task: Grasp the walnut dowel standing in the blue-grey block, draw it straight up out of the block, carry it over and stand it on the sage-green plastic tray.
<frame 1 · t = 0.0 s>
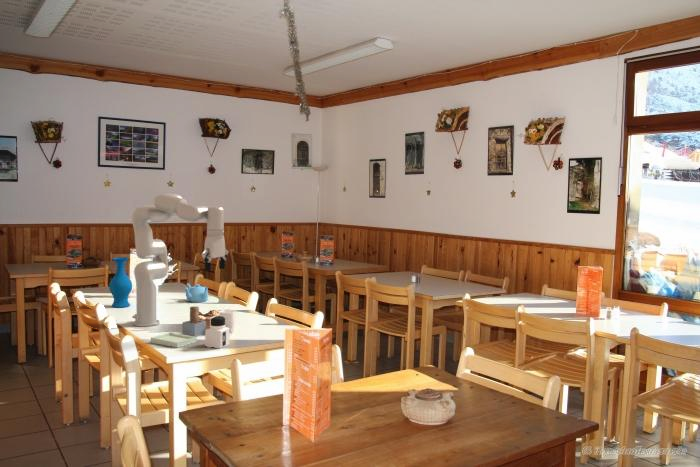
hand: (215, 269, 281), 31 cm above the table, fingers open, 9 cm apart
vase: (120, 306, 349), on the table
blue-grey block: (194, 334, 286), on the table
white cup: (227, 332, 293), on the table
sage tray: (173, 342, 270), on the table
teapot: (196, 301, 370), on the table
walnut dowel: (194, 320, 285), in the blue-grey block
container: (217, 346, 266), on the table
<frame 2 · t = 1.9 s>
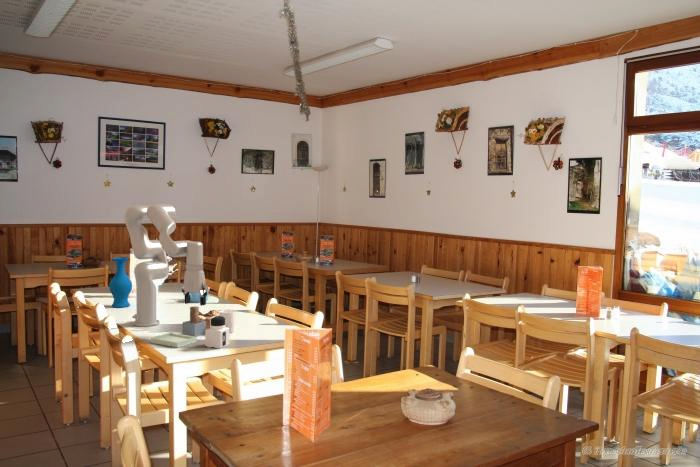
hand: (195, 304, 284), 14 cm above the table, fingers open, 9 cm apart
nothing on the table moved.
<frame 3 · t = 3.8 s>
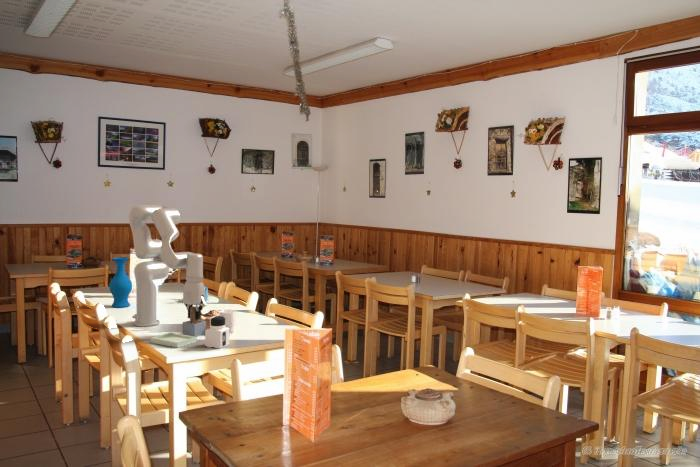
hand: (194, 318, 285), 8 cm above the table, fingers closed on walnut dowel, 4 cm apart
walnut dowel: (194, 320, 285), in the blue-grey block, touching gripper
everything else where it was.
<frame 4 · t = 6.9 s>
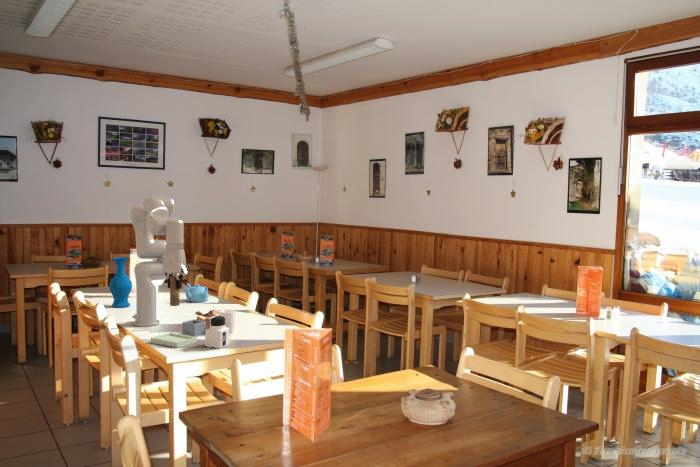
hand: (174, 287, 269), 25 cm above the table, fingers closed on walnut dowel, 4 cm apart
walnut dowel: (174, 290, 269), point 23 cm above the table, touching gripper
everything else where it was.
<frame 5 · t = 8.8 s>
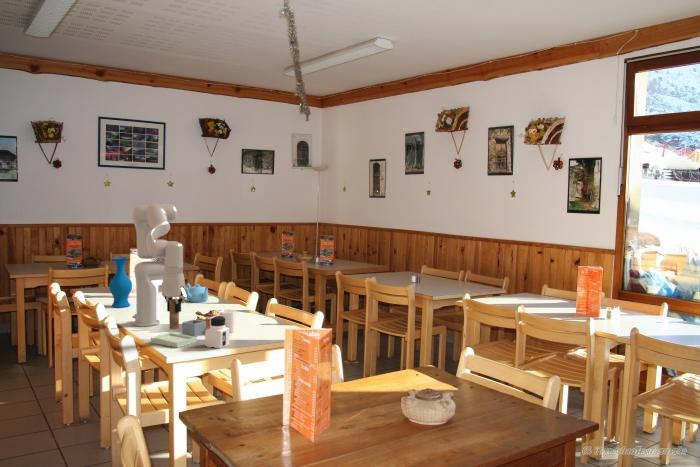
hand: (174, 311, 269), 14 cm above the table, fingers closed on walnut dowel, 4 cm apart
walnut dowel: (174, 314, 269), point 13 cm above the table, touching gripper
everything else where it was.
when the fingers open (10 cm above the table, at t = 10.4 s): walnut dowel stays where it is, resting on sage tray.
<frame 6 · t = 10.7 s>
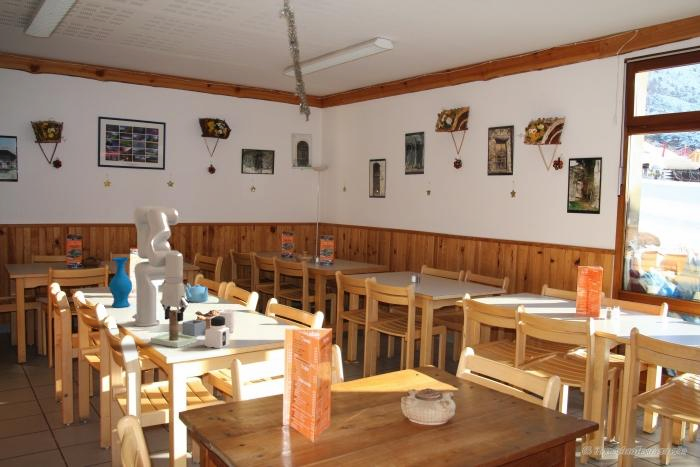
hand: (173, 319, 270), 10 cm above the table, fingers open, 6 cm apart
walnut dowel: (173, 325, 270), in the sage tray, point 8 cm above the table
everything else where it was.
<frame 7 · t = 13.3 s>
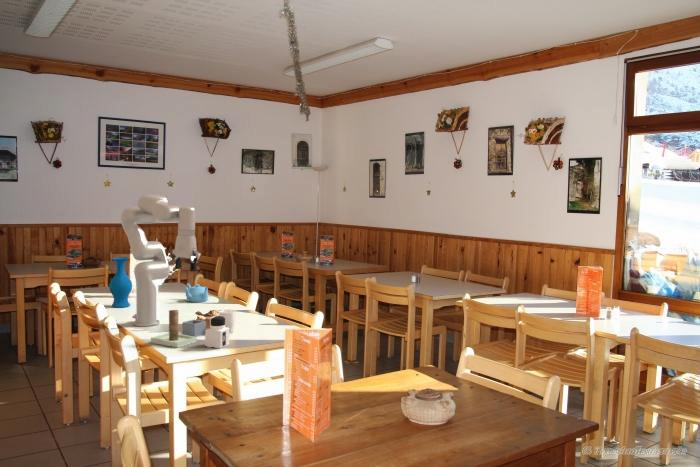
hand: (185, 269, 282), 31 cm above the table, fingers open, 9 cm apart
nothing on the table moved.
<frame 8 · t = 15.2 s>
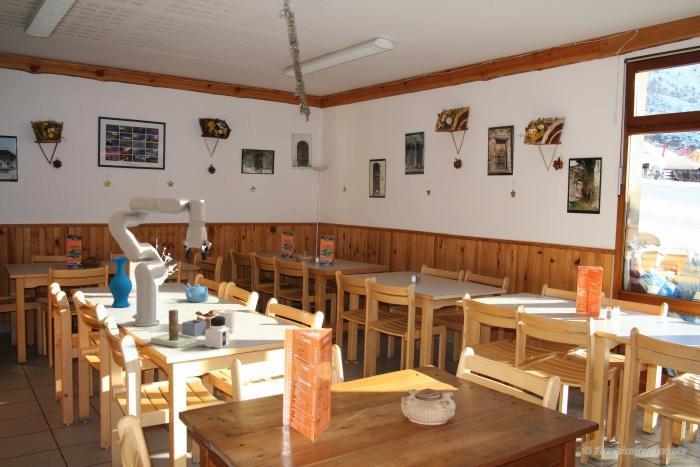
hand: (196, 259, 295), 34 cm above the table, fingers open, 9 cm apart
nothing on the table moved.
at the end: walnut dowel inside the target area on the sage tray (0.1 cm from its centre), point 7.7 cm above the sage tray's base; walnut dowel tilted 1°; the gripper is holding nothing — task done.
